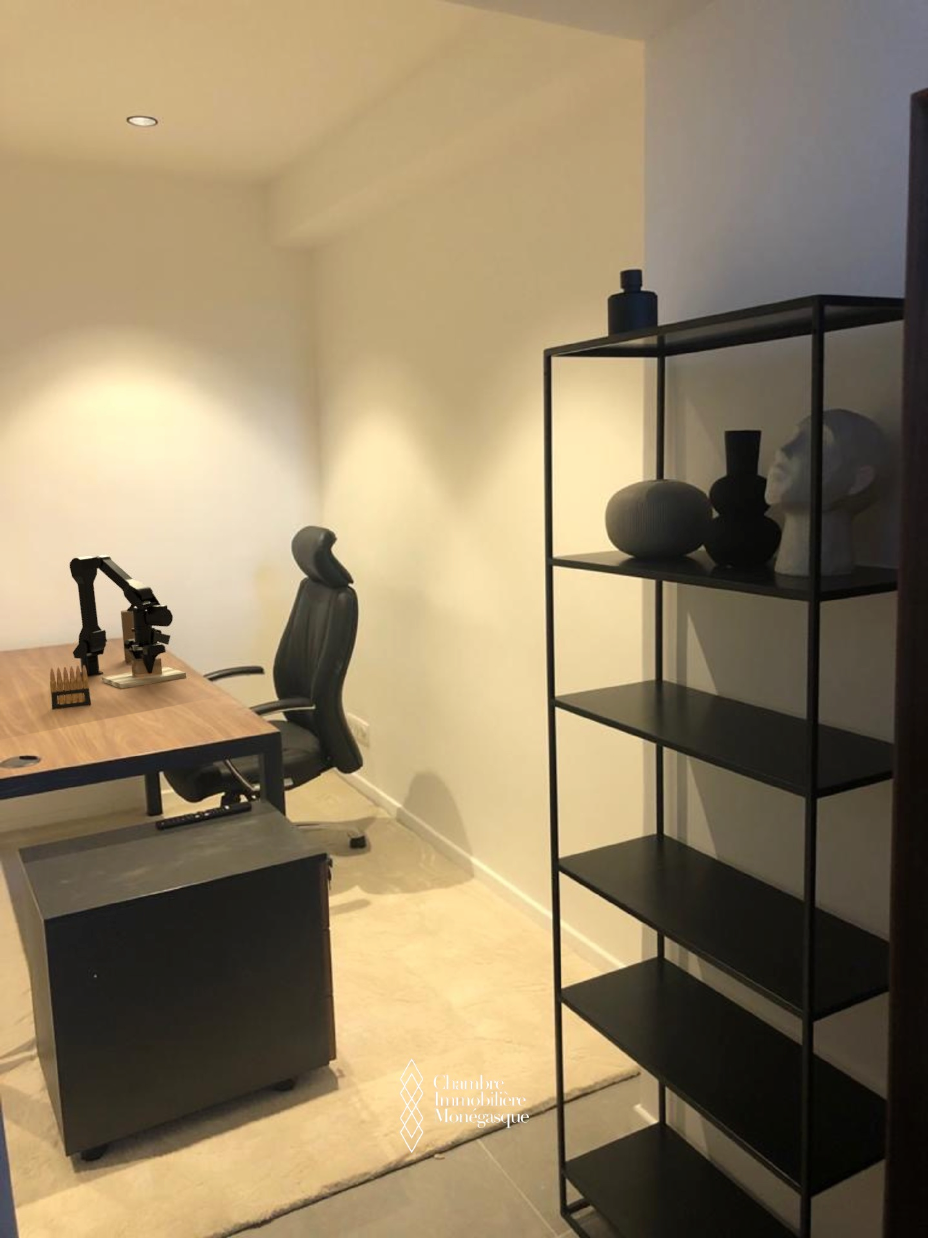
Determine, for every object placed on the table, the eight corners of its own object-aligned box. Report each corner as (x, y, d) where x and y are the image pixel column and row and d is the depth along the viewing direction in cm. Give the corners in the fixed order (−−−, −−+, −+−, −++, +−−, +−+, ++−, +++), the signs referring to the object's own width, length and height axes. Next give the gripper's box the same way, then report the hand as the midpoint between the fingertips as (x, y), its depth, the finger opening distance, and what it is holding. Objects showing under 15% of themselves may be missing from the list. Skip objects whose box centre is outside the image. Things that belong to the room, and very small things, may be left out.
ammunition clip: (90, 703, 300) (87, 664, 298) (91, 705, 299) (87, 665, 297) (52, 708, 296) (48, 668, 294) (52, 709, 295) (48, 669, 293)
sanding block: (132, 675, 332) (131, 660, 331) (155, 671, 337) (154, 656, 336) (138, 677, 328) (137, 662, 327) (162, 673, 333) (161, 658, 333)
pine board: (102, 681, 330) (102, 677, 330) (166, 670, 345) (165, 666, 344) (121, 688, 319) (120, 683, 319) (186, 677, 334) (185, 672, 333)
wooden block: (150, 657, 370) (146, 608, 367) (151, 659, 366) (147, 610, 363) (124, 659, 367) (120, 610, 364) (125, 662, 363) (121, 612, 360)
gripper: (179, 625, 328) (182, 672, 331) (153, 619, 342) (157, 664, 345) (146, 629, 321) (150, 678, 323) (121, 623, 335) (125, 669, 337)
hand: (146, 672), depth 332 cm, fingers closed on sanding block, 5 cm apart
